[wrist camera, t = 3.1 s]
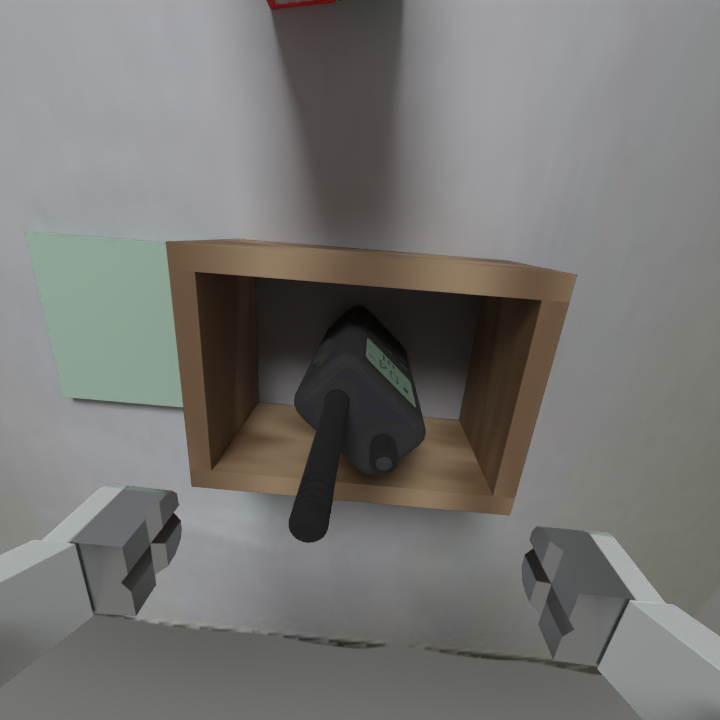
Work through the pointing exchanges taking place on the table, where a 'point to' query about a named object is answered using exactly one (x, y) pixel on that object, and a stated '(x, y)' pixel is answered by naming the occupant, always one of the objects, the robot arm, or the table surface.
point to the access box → (295, 436)
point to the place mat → (108, 317)
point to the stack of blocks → (295, 3)
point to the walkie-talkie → (353, 413)
